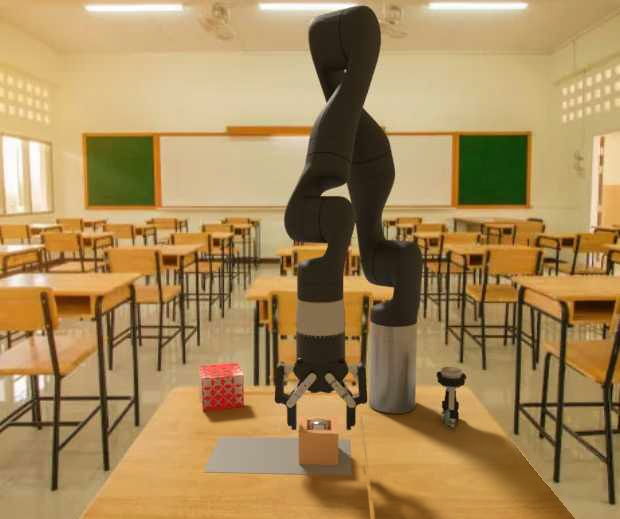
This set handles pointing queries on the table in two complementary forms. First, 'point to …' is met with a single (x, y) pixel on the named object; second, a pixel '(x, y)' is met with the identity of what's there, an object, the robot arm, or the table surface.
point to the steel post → (318, 424)
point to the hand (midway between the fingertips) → (321, 428)
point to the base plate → (271, 457)
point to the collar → (318, 442)
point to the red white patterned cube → (221, 386)
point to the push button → (451, 393)
